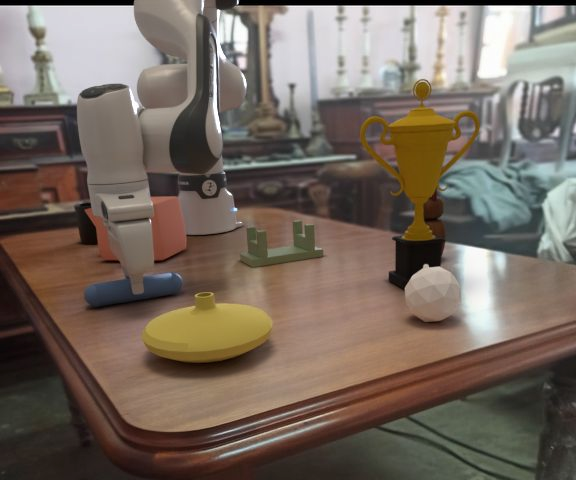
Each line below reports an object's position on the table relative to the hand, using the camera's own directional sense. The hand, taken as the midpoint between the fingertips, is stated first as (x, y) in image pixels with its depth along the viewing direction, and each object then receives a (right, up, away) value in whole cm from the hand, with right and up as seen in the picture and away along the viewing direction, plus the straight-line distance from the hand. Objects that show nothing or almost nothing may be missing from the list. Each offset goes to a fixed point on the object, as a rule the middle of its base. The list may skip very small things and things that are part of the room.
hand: (135, 289), depth 94 cm
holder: (+23, +9, +23) cm, 34 cm away
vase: (+15, -10, -22) cm, 28 cm away
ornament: (+44, -6, -16) cm, 47 cm away
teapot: (-8, +10, +33) cm, 35 cm away
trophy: (+45, +1, +1) cm, 45 cm away
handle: (0, -2, +1) cm, 2 cm away
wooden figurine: (+51, +7, +15) cm, 53 cm away
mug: (-21, +18, +53) cm, 60 cm away
